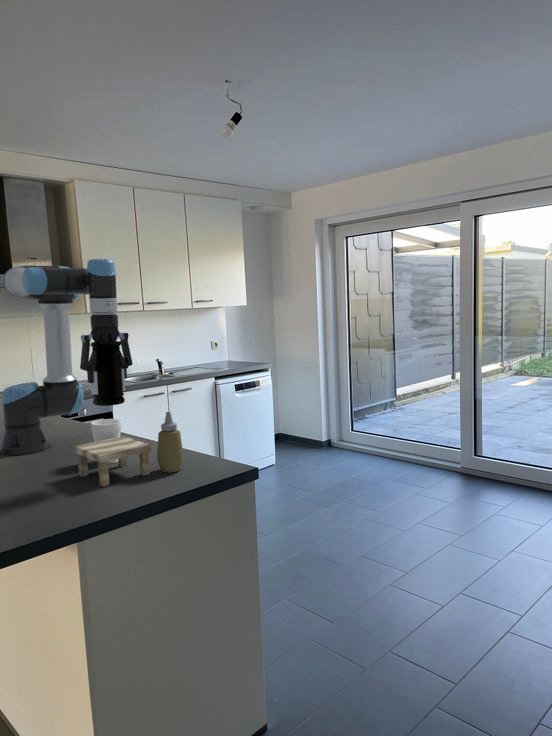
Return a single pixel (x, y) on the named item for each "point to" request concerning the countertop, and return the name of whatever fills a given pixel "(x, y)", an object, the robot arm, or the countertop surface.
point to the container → (108, 374)
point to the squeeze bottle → (169, 446)
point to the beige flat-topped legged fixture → (112, 455)
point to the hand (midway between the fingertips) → (108, 392)
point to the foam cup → (106, 430)
